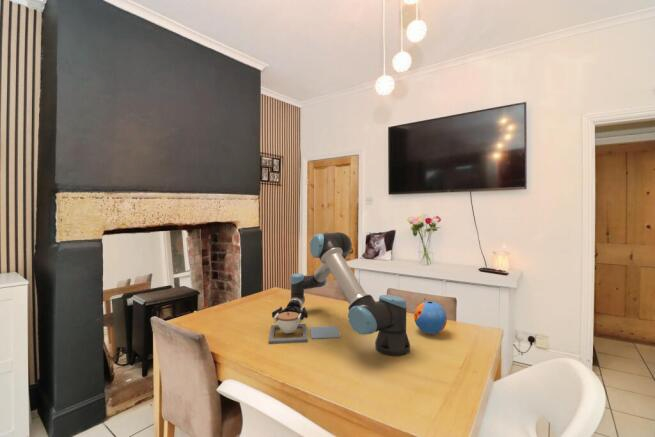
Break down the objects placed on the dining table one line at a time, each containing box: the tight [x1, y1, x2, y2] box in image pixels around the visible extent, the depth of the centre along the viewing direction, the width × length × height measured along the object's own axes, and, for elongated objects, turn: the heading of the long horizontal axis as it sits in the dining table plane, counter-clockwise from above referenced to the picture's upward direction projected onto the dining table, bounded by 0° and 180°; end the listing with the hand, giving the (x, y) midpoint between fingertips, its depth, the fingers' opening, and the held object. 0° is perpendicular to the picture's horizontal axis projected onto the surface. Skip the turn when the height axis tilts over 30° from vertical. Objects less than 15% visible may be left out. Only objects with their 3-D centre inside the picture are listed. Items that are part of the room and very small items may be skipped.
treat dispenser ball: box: [413, 301, 448, 335], centre depth 158 cm, size 16×15×15 cm
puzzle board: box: [267, 323, 309, 345], centre depth 157 cm, size 20×18×1 cm
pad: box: [309, 325, 342, 340], centre depth 158 cm, size 14×14×1 cm
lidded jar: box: [277, 312, 299, 334], centre depth 156 cm, size 11×11×9 cm
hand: (286, 320), depth 152 cm, fingers closed on lidded jar, 11 cm apart
